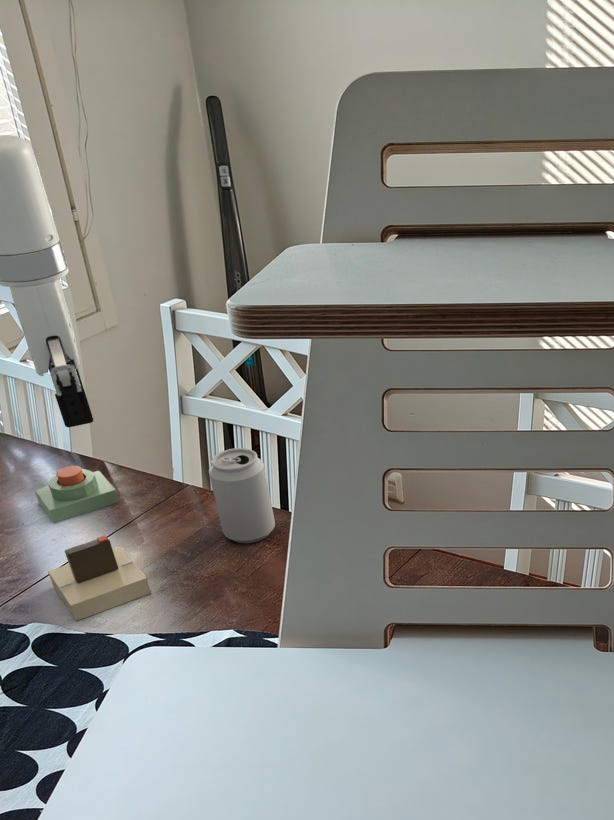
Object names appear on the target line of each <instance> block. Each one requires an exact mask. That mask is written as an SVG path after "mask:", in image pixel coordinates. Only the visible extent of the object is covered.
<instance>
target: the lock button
mask: <svg viewBox="0 0 614 820" xmlns="http://www.w3.org/2000/svg"><path fill="white" fill-rule="evenodd" d="M82 469H83V468H82V467H80V466H78V465H68V466H65V467H62V468H59V470H57V471H56V473H55V474H56V475H57V478H58V481H59V483H60V485H61V486H73V485H76V484H79V483H81V482H82V481H84V476H83V472H82ZM56 475H55V476H56Z"/></svg>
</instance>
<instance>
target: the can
mask: <svg viewBox="0 0 614 820" xmlns="http://www.w3.org/2000/svg"><path fill="white" fill-rule="evenodd" d="M265 468H266V467H265V464H264V462H263V460H262V459H261V458H259V457H258V453H257V452H256V451H255V450H252V449H251V448H246V447H235V448H229V449H226V450H222V451H220V452H218V453H217V454H215V455H214V456H213V458H211V466H210V468H209V469H208V476H209V480H210V483H211V489H212V492H213V497H214V501H215V506H216V510H217V514H218V517H219V518H218V519H219V523H220V527H221V530H222V531H221V532H222V534H223V535H224V537H226V538H227V539H229V540H231V541H233V542H234V543H235V542H236V543H240V544H251V543H256V542H259V541H262V540H263V539H266V538H267V537H268V536H269V535H270V533H271V532H272V531H273V530H274V528H275V526H276V520H275V515H274V509H273V504H272V499H271V494H270V490H269V484H268V480H267V474H266V469H265Z"/></svg>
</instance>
